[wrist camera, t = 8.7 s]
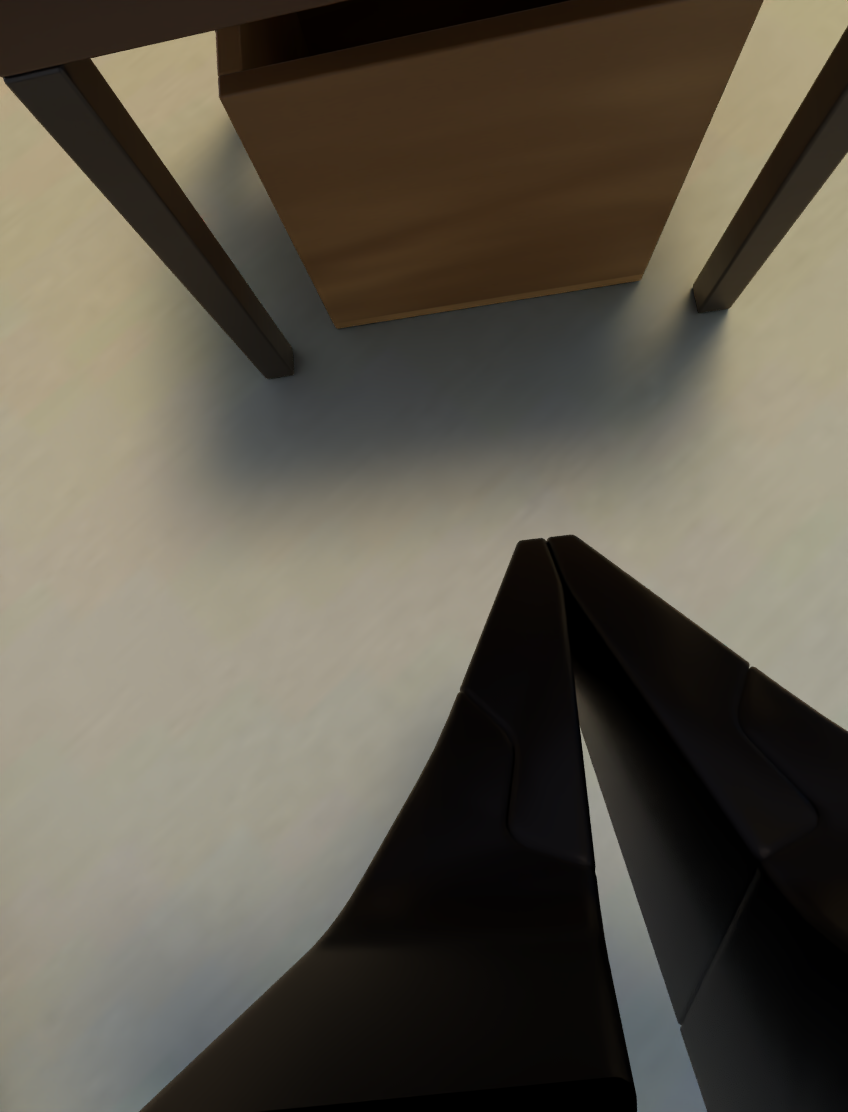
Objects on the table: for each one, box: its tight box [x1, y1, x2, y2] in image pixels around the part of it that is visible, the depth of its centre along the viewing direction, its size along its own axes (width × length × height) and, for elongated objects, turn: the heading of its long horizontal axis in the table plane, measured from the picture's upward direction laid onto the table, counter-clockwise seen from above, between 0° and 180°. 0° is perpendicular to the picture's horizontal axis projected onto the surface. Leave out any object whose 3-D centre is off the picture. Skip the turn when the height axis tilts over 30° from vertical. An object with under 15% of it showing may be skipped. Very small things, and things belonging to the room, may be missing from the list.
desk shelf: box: [0, 0, 848, 379], centre depth 13 cm, size 12×15×11 cm
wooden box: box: [216, 0, 763, 329], centre depth 14 cm, size 8×10×8 cm
